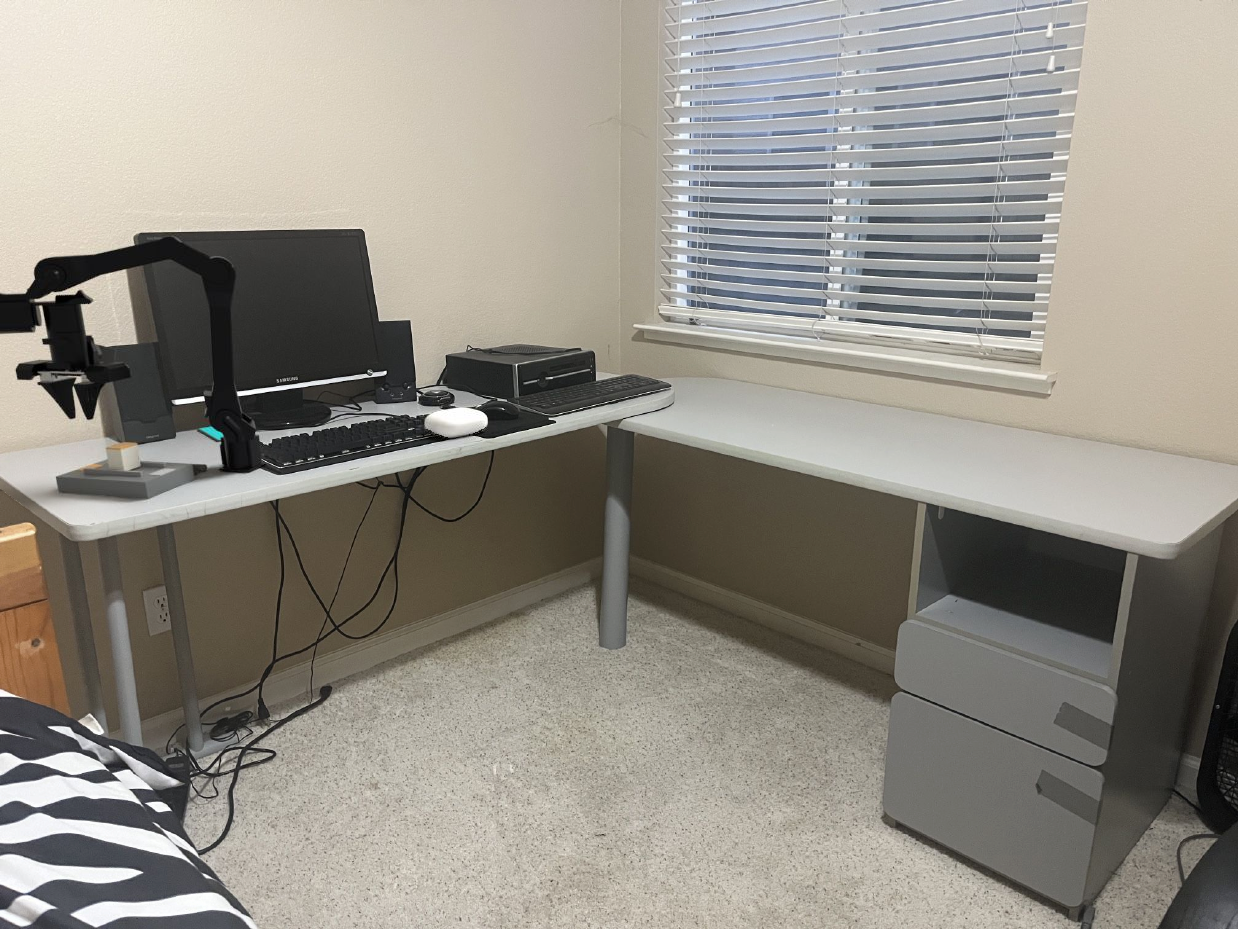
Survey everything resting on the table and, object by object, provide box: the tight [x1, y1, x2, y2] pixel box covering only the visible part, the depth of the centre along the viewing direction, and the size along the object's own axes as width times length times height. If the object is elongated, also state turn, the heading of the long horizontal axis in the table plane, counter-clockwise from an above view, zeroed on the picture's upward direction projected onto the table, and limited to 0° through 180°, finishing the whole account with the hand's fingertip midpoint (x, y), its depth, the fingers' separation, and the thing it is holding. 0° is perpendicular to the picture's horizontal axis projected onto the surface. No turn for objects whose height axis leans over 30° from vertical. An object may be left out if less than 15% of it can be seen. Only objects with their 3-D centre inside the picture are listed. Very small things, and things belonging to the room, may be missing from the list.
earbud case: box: [424, 407, 488, 439], centre depth 195 cm, size 10×13×5 cm
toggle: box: [105, 441, 141, 470], centre depth 155 cm, size 3×4×4 cm
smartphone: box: [197, 425, 223, 443], centre depth 196 cm, size 7×1×15 cm
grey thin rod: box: [191, 463, 208, 473], centre depth 166 cm, size 14×1×1 cm, turn 82°
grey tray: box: [55, 458, 195, 500], centre depth 156 cm, size 18×12×4 cm, turn 78°
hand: (81, 419), depth 155 cm, fingers open, 3 cm apart
